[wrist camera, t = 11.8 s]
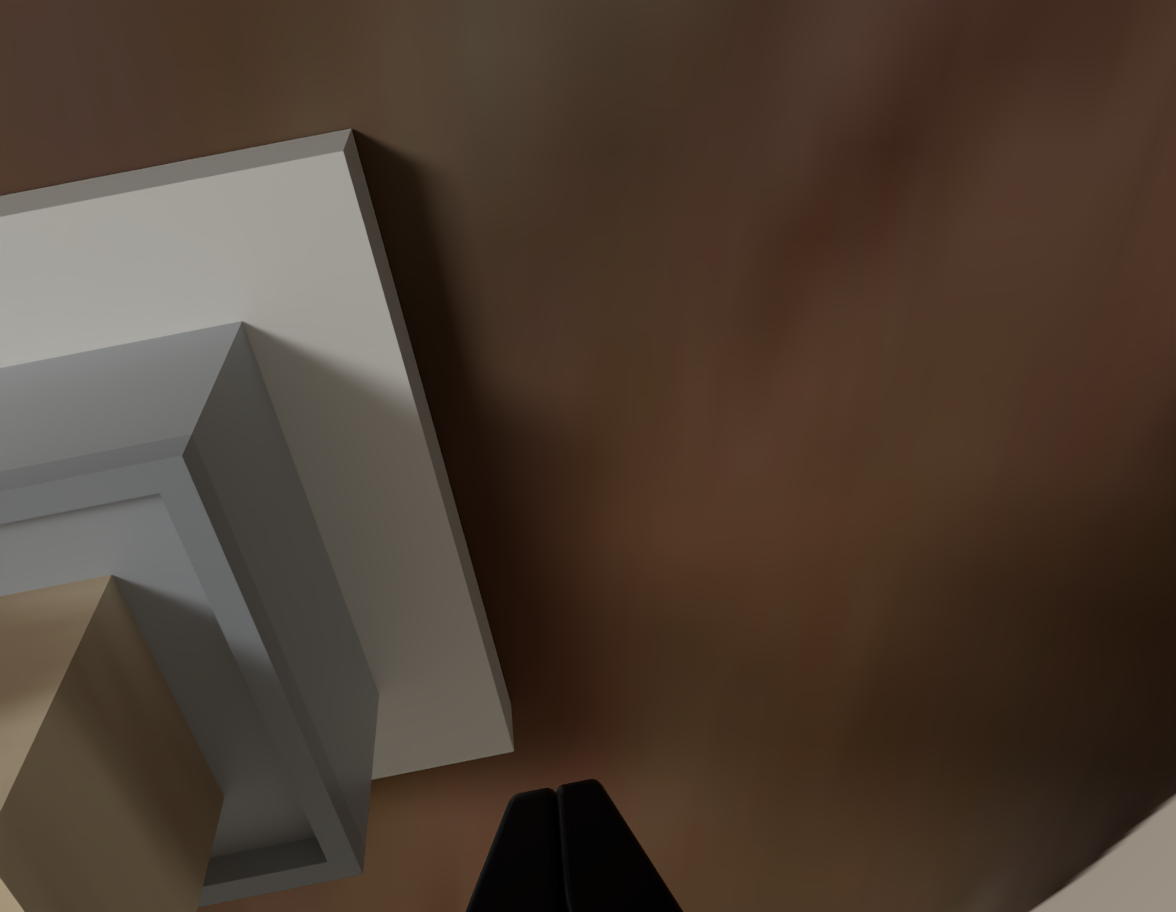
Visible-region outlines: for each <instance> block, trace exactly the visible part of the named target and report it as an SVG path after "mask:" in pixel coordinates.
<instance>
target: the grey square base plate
mask: <svg viewBox="0 0 1176 912" xmlns="http://www.w3.org/2000/svg"><path fill="white" fill-rule="evenodd" d="M108 575H112V577H113V578H114V580H115V582H116V584H117V586H118V588H119V590H120V592H121V594H122V596H123V598H124V600H125V602H126V604H127V606H128V608H129V610H130V612H131V614H132V616H133V618H134V620H135V622H136V624H137V626H138V628H139V630H140V632H141V634H142V636H143V638H144V639H145V641H146V643H147V645H148V647H149V649H150V651H151V653H152V655H153V657H154V659H155V661H156V663H157V665H158V667H159V669H160V671H161V673H162V675H163V677H164V679H165V681H166V683H167V685H168V687H169V689H170V691H171V693H172V695H173V697H174V699H175V700H176V702H177V704H178V706H179V708H180V710H181V712H182V714H183V716H184V718H185V720H186V722H187V724H188V726H189V728H190V730H191V732H192V734H193V736H194V738H195V740H196V742H197V744H198V746H199V748H200V750H201V752H202V754H203V756H204V758H205V760H206V761H207V763H208V765H209V767H210V769H211V771H212V773H213V775H214V777H215V779H216V781H217V783H218V785H219V787H220V789H221V791H222V793H223V795H224V801H223V805H222V809H221V813H220V818H219V822H218V826H217V830H216V834H215V838H214V842H213V846H212V850H211V855H210V859H209V863H208V867H207V871H206V875H205V879H204V883H203V887H202V892H201V896H200V900H199V904H198V907H201V906H206V905H211V904H216V903H221V902H226V901H231V900H236V899H241V898H246V897H251V896H256V895H261V894H266V893H271V892H276V891H281V890H286V889H291V888H296V887H301V886H306V885H311V884H316V883H321V882H326V881H331V880H336V879H341V878H346V877H351V876H356V875H361V874H363V867H364V856H365V845H366V834H367V823H368V812H369V801H370V790H371V780H373V779H378V778H383V777H388V776H393V775H398V774H403V773H408V772H413V771H418V770H423V769H428V768H433V767H439V766H444V765H449V764H454V763H459V762H464V761H469V760H474V759H479V758H484V757H489V756H494V755H499V754H504V753H509V752H514V742H513V726H512V710H511V703H510V699H509V695H508V692H507V688H506V685H505V681H504V677H503V674H502V670H501V667H500V663H499V659H498V656H497V652H496V649H495V645H494V641H493V638H492V634H491V631H490V627H489V623H488V620H487V616H486V612H485V609H484V605H483V602H482V598H481V594H480V591H479V587H478V584H477V580H476V576H475V573H474V569H473V566H472V562H471V558H470V555H469V551H468V548H467V544H466V540H465V537H464V533H463V530H462V526H461V522H460V519H459V515H458V512H457V508H456V504H455V501H454V497H453V493H452V490H451V486H450V483H449V479H448V475H447V472H446V468H445V465H444V461H443V457H442V454H441V450H440V447H439V443H438V439H437V436H436V432H435V429H434V425H433V421H432V418H431V414H430V411H429V407H428V403H427V400H426V396H425V393H424V389H423V385H422V382H421V378H420V374H419V371H418V367H417V364H416V360H415V356H414V353H413V349H412V346H411V342H410V338H409V335H408V331H407V328H406V324H405V320H404V317H403V313H402V310H401V306H400V302H399V299H398V295H397V292H396V288H395V284H394V281H393V277H392V274H391V270H390V266H389V263H388V259H387V255H386V252H385V248H384V245H383V241H382V237H381V234H380V230H379V227H378V223H377V219H376V216H375V212H374V209H373V205H372V201H371V198H370V194H369V191H368V187H367V183H366V180H365V176H364V173H363V169H362V165H361V162H360V158H359V154H358V151H357V147H356V144H355V140H354V136H353V133H352V129H346V130H341V131H336V132H331V133H326V134H320V135H315V136H310V137H305V138H300V139H294V140H289V141H284V142H279V143H274V144H269V145H263V146H258V147H253V148H248V149H243V150H237V151H232V152H227V153H222V154H217V155H211V156H206V157H201V158H196V159H191V160H185V161H180V162H175V163H170V164H165V165H160V166H154V167H149V168H144V169H139V170H134V171H128V172H123V173H118V174H113V175H108V176H102V177H97V178H92V179H87V180H82V181H76V182H71V183H66V184H61V185H56V186H51V187H45V188H40V189H35V190H30V191H25V192H19V193H14V194H9V195H4V196H0V596H5V595H10V594H15V593H20V592H25V591H31V590H36V589H41V588H46V587H51V586H56V585H61V584H67V583H72V582H77V581H82V580H87V579H92V578H97V577H102V576H108Z"/></svg>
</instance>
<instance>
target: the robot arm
mask: <svg viewBox="0 0 1176 912" xmlns="http://www.w3.org/2000/svg"><path fill="white" fill-rule="evenodd" d="M466 912H683V911H682V909H681V908H680V906H679V904H678V903H677V901H676V900H675V898H674V897H673V895H672V893H671V892H670V890H669V889H668V887H667V886H666V884H665V883H664V881H663V879H662V878H661V876H660V875H659V873H658V872H657V870H656V868H655V867H654V865H653V864H652V862H651V861H650V859H649V858H648V856H647V854H646V853H645V851H644V850H643V848H642V847H641V845H640V844H639V842H638V840H637V839H636V837H635V836H634V834H633V833H632V831H631V829H630V828H629V826H628V825H627V823H626V822H625V820H624V819H623V817H622V815H621V814H620V812H619V811H618V809H617V808H616V806H615V804H614V803H613V801H612V800H611V798H610V797H609V795H608V794H607V792H606V790H605V789H604V787H603V786H602V784H601V783H600V782H599V781H597V780H595V779H588V780H583V781H578V782H573V783H568V784H563V785H561V786H559V787H558V788H557V791H556V793H555V791H554V790H553V789H550V788H543V789H538V790H533V791H528V792H523V793H518V794H516V795H514V796H513V797H512V798H511V799H510V801H509V803H508V805H507V807H506V810H505V813H504V815H503V818H502V820H501V823H500V825H499V828H498V830H497V833H496V835H495V838H494V841H493V843H492V846H491V848H490V851H489V853H488V856H487V858H486V861H485V864H484V866H483V869H482V871H481V874H480V876H479V879H478V881H477V884H476V886H475V889H474V892H473V894H472V897H471V899H470V902H469V904H468V907H467V909H466Z"/></svg>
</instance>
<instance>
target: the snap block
mask: <svg viewBox="0 0 1176 912" xmlns="http://www.w3.org/2000/svg"><path fill="white" fill-rule="evenodd" d="M223 801H224V795H223V793H222V791H221V789H220V787H219V785H218V783H217V781H216V779H215V777H214V775H213V773H212V771H211V769H210V767H209V765H208V763H207V761H206V760H205V758H204V756H203V754H202V752H201V750H200V748H199V746H198V744H197V742H196V740H195V738H194V736H193V734H192V732H191V730H190V728H189V726H188V724H187V722H186V720H185V718H184V716H183V714H182V712H181V710H180V708H179V706H178V704H177V702H176V700H175V699H174V697H173V695H172V693H171V691H170V689H169V687H168V685H167V683H166V681H165V679H164V677H163V675H162V673H161V671H160V669H159V667H158V665H157V663H156V661H155V659H154V657H153V655H152V653H151V651H150V649H149V647H148V645H147V643H146V641H145V639H144V638H143V636H142V634H141V632H140V630H139V628H138V626H137V624H136V622H135V620H134V618H133V616H132V614H131V612H130V610H129V608H128V606H127V604H126V602H125V600H124V598H123V596H122V594H121V592H120V590H119V588H118V586H117V584H116V582H115V580H114V578H113V577H112V575H108V576H102V577H97V578H92V579H87V580H82V581H77V582H72V583H67V584H61V585H56V586H51V587H46V588H41V589H36V590H31V591H25V592H20V593H15V594H10V595H5V596H0V912H197V908H198V904H199V900H200V896H201V892H202V887H203V883H204V879H205V875H206V871H207V867H208V863H209V859H210V855H211V850H212V846H213V842H214V838H215V834H216V830H217V826H218V822H219V818H220V813H221V809H222V805H223Z"/></svg>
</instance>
